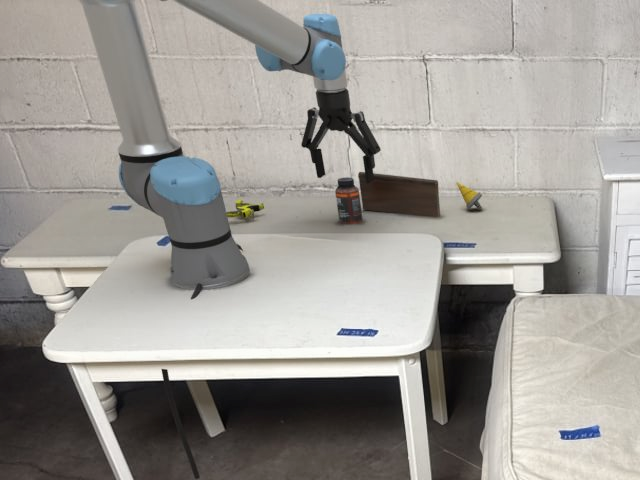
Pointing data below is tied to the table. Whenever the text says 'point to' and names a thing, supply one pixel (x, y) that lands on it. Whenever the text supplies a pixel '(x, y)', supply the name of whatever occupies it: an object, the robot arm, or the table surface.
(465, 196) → the yellow spinning top
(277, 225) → the table surface
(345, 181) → the supplement bottle
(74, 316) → the table surface
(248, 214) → the yellow black clamp
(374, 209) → the wooden wall
